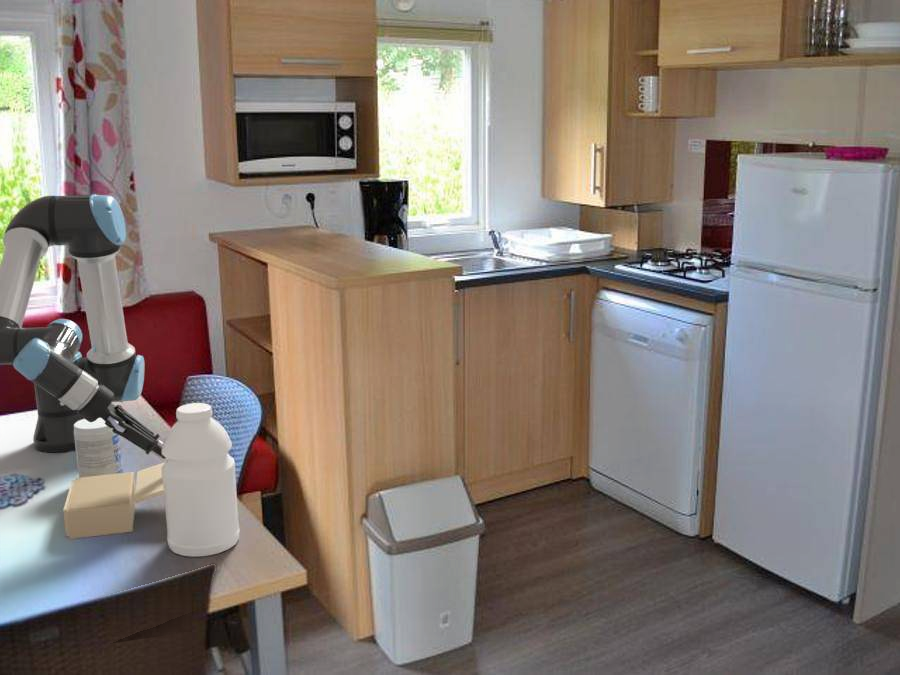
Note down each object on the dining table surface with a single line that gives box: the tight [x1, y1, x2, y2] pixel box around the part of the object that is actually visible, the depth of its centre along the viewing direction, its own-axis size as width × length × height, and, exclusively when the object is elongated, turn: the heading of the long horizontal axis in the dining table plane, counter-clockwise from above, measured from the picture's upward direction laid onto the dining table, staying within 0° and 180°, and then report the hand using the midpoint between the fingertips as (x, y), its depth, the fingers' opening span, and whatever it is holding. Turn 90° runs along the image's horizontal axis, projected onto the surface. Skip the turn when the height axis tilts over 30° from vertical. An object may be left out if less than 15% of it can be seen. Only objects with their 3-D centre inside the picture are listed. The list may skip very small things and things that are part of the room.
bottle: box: [162, 402, 241, 558], centre depth 184 cm, size 14×14×28 cm
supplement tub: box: [74, 418, 124, 478], centre depth 216 cm, size 10×10×15 cm
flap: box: [134, 462, 165, 503], centre depth 201 cm, size 16×1×12 cm
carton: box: [62, 471, 137, 540], centre depth 198 cm, size 18×13×6 cm
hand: (178, 462), depth 202 cm, fingers closed
